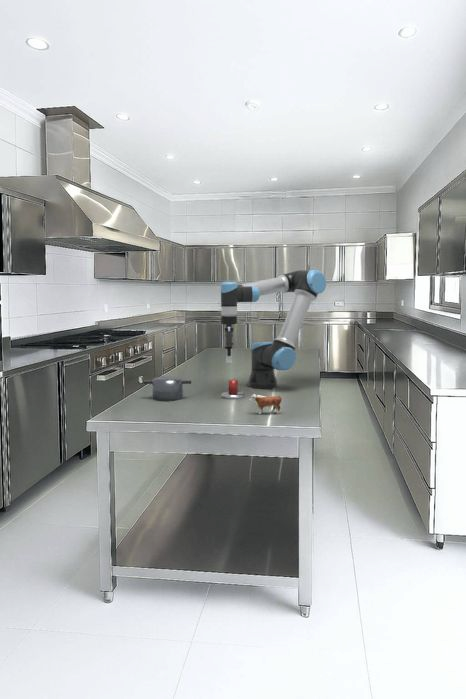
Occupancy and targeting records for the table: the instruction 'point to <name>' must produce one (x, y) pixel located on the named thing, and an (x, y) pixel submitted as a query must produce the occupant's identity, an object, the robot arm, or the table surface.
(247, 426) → the table surface
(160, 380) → the pot
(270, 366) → the robot arm
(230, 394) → the lid
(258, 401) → the bull figurine
